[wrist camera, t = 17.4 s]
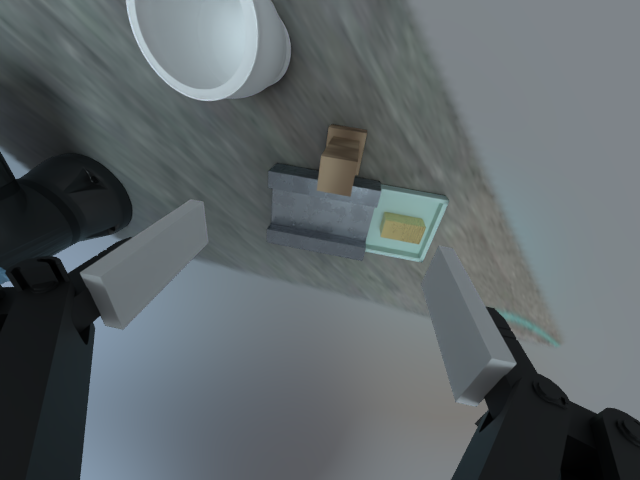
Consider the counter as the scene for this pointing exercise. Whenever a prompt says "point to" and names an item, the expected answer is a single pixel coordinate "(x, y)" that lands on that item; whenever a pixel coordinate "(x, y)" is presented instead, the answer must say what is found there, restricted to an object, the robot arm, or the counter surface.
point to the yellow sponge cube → (413, 230)
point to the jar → (212, 45)
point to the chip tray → (408, 205)
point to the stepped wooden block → (341, 159)
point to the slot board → (320, 213)
